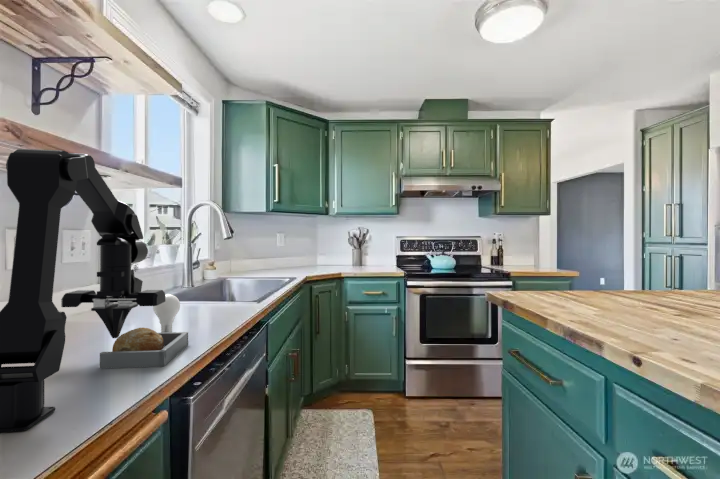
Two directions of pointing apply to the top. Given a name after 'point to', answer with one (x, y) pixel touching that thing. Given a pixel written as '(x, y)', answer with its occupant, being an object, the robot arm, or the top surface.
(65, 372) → the top surface
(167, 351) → the grey u-shaped frame
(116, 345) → the bread roll
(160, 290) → the robot arm
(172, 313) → the lightbulb
